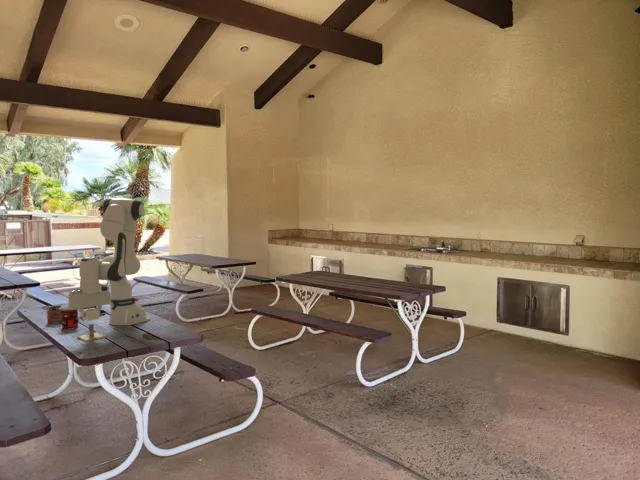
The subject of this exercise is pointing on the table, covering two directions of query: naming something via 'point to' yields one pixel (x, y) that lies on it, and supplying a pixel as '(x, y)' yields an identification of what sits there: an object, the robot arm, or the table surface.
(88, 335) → the shaft block
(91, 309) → the beige hollow cube
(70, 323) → the canned food
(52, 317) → the ornate red tin
